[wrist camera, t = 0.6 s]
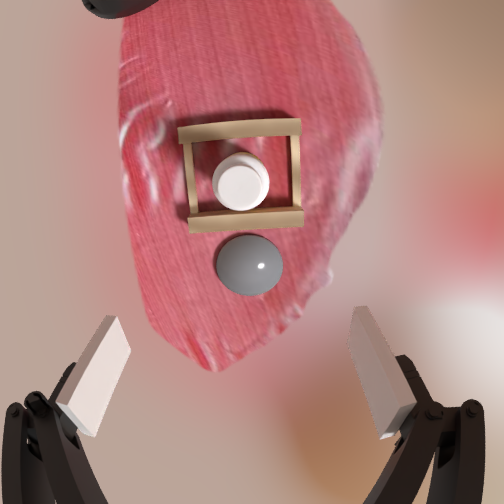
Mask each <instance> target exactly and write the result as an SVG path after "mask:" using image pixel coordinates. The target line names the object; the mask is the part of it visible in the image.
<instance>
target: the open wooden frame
mask: <svg viewBox="0 0 504 504" xmlns="http://www.w3.org/2000/svg"><path fill="white" fill-rule="evenodd" d="M299 135H302V132H301V118H284V119H257V120H241V121H228V122H218V123H209V124H200V125H192V126H185V127H178V139H179V144H183V150H184V161H185V170H186V180H187V188H188V197H189V205H190V213H191V214H190V215H189V217H188V218H187V219H188V226H189V233H204V232H219V231H235V230H251V229H268V228H287V227H304V210H303V209H302V207H301V176H300V148H299ZM263 136H290V145H291V169H292V200H293V206H284V207H264V208H252V209H249V210H244V211H237V210H218V211H205V212H199V207H198V199H197V190H196V181H195V171H194V161H193V150H192V143H193V142H202V141H211V140H221V139H232V138H246V137H263Z"/></svg>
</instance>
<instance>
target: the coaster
mask: <svg viewBox="0 0 504 504" xmlns="http://www.w3.org/2000/svg"><path fill="white" fill-rule="evenodd" d="M216 267H217V273H218V276H219V278H220V280H221V282H222V283H223V284H224V285H225V286H226V287H227V288H228V289H230V290H231V291H233V292H235V293H237V294H240V295H246V296H253V295H259V294H262V293H265V292H267V291H268V290H270V289H271V288H273V287H274V286H275V285H276V284H277V282H278V281H279V279H280V277H281V274H282V270H283V261H282V257H281V254H280V252H279V250H278V249H277V247H276V246H275V245H274V244H273V243H272V242H271V241H269V240H268V239H266V238H264V237H261V236H258V235H241V236H238V237H235V238H233V239H231V240H230V241H228V242H227V243H226V244H225V245H224V246H223V248H222V249H221V251H220V252H219V255H218V258H217V264H216Z"/></svg>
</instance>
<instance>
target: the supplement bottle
mask: <svg viewBox="0 0 504 504" xmlns="http://www.w3.org/2000/svg"><path fill="white" fill-rule="evenodd" d="M212 187H213V191H214V194H215V196H216V198H217V199H218V200H219V202H220V203H221V204H223V205H224V206H226V207H227V208H230V209H232V210H237V211H244V210H249V209H252V208H254V207H256V206H257V205H259V204H260V203H261V202H262V201H263V200H264V198H265V197H266V195H267V192H268V189H269V176H268V173H267V170H266V168H265V167H264V165H263V163H262V162H261V160H260V159H259V158H258V157H256V156H255V155H253V154H251V153H247V152H238V153H234V154H232V155H230V156H229V157H227V158H226V159H224V160H223V161H222V162H221V163H220V164H219V165H218V166H217V168H216V170H215V172H214V174H213V179H212Z"/></svg>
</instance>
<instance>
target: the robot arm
mask: <svg viewBox="0 0 504 504" xmlns="http://www.w3.org/2000/svg"><path fill="white" fill-rule="evenodd" d="M157 1H158V0H82V2H83V4H84V6H85V7H86V8H87V9H88V10H89V11H90V12H92V13H93V14H95V15H96V16H98V17H101V18H106V19H115V18H122V17H126V16H129V15H132V14H135V13H137V12H139V11H141V10H144V9H145V8H147V7H149V6H151V5H152V4H154V3H155V2H157ZM347 346H348V349H349V351H350V354H351V356H352V359H353V362H354V365H355V368H356V370H357V373H358V376H359V379H360V381H361V384H362V387H363V390H364V393H365V395H366V398H367V401H368V404H369V407H370V410H371V413H372V416H373V419H374V422H375V426H376V429H377V432H378V435H379V438H380V439H383V438H386V437H390V436H393V435H395V434H396V433H397V431H398V430H400V433H401V437H400V438H399V440H398V441H397V442H396V443H395V445H396V447H395V449H394V451H393V453H392V455H391V457H390V459H389V461H388V462H387V464H386V466H385V468H384V470H383V472H382V473H381V475H380V477H379V479H378V480H377V482H376V484H375V485H374V487H373V489H372V490H371V492H370V493H369V495H368V497H367V498H366V500H365V501H364V503H363V504H412V502H413V500H414V498H415V497H416V495H417V493H418V490H419V488H420V486H421V484H422V482H423V479H424V477H425V475H426V473H427V470H428V468H429V465H430V463H431V460H432V458H433V455H434V452H435V457H434V464H433V471H432V477H431V483H430V488H429V493H428V498H427V503H426V504H481V502H482V493H483V485H484V472H485V421H484V410H483V406H482V405H481V404H480V403H479V402H478V401H476V400H473V399H470V400H467V401H465V402H464V403H463V404H462V406H461V407H448V408H447V407H443V406H442V405H441V404H440V403H438V402H434V401H433V400H432V398H431V396H430V394H429V392H428V390H427V389H426V386H425V384H424V382H423V380H422V379H421V377H420V375H419V373H418V371H416V368H415V366H414V364H413V362H412V361H411V360H410V359H409V358H408V357H407V356H405V355H400V356H396V357H395V356H394V354H393V353H392V351H391V349H390V347H389V345H388V343H387V341H386V339H385V337H384V336H383V334H382V332H381V330H380V328H379V326H378V325H377V323H376V321H375V319H374V318H373V316H372V314H371V312H370V310H369V309H368V307H367V306H360V307H354V309H353V315H352V321H351V326H350V331H349V337H348V341H347ZM130 352H131V349H130V347H129V345H128V342H127V340H126V337H125V335H124V332H123V330H122V328H121V325H120V322H119V320H118V317H117V316H106V317H105V318H104V320H103V321H102V323H101V325H100V326H99V328H98V329H97V331H96V332H95V334H94V335H93V337H92V339H91V340H90V342H89V343H88V345H87V347H86V348H85V350H84V352H83V353H82V355H81V357H80V358H79V360H78V362H77V363H75V362H73V363H72V364H71V365H70V366H68V367H67V369H66V370H65V372H64V373H63V377H61V379H60V380H59V382H58V384H57V386H56V387H55V389H54V391H53V393H52V395H51V396H50V398H49V400H47V399H46V397H45V396H44V395H43V394H42V393H41V392H39V391H34V392H32V393H30V394H28V396H27V397H26V398H25V401H24V405H25V407H26V408H27V409H25V408H24V407H23V406H22V405H21V404H20V403H17V402H15V403H13V404H11V405H10V406H9V407H8V409H7V411H6V417H5V425H4V434H3V445H2V499H3V504H55V500H56V503H57V504H108V502H107V500H106V499H105V497H104V495H103V493H102V491H101V489H100V487H99V484H98V482H97V480H96V478H95V476H94V474H93V471H92V469H91V467H90V464H89V462H88V460H87V457H86V455H85V452H84V450H83V447H82V444H81V441H80V439H79V436H78V435H77V433H76V431H77V428H78V429H79V430H80V431H81V432H82V433H83V434H85V435H89V436H92V437H95V436H96V434H97V431H98V429H99V426H100V423H101V421H102V418H103V416H104V413H105V410H106V407H107V406H108V403H109V400H110V398H111V396H112V393H113V391H114V389H115V386H116V384H117V382H118V379H119V377H120V375H121V372H122V370H123V368H124V366H125V363H126V361H127V359H128V357H129V354H130ZM27 439H28V444H27Z"/></svg>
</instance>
